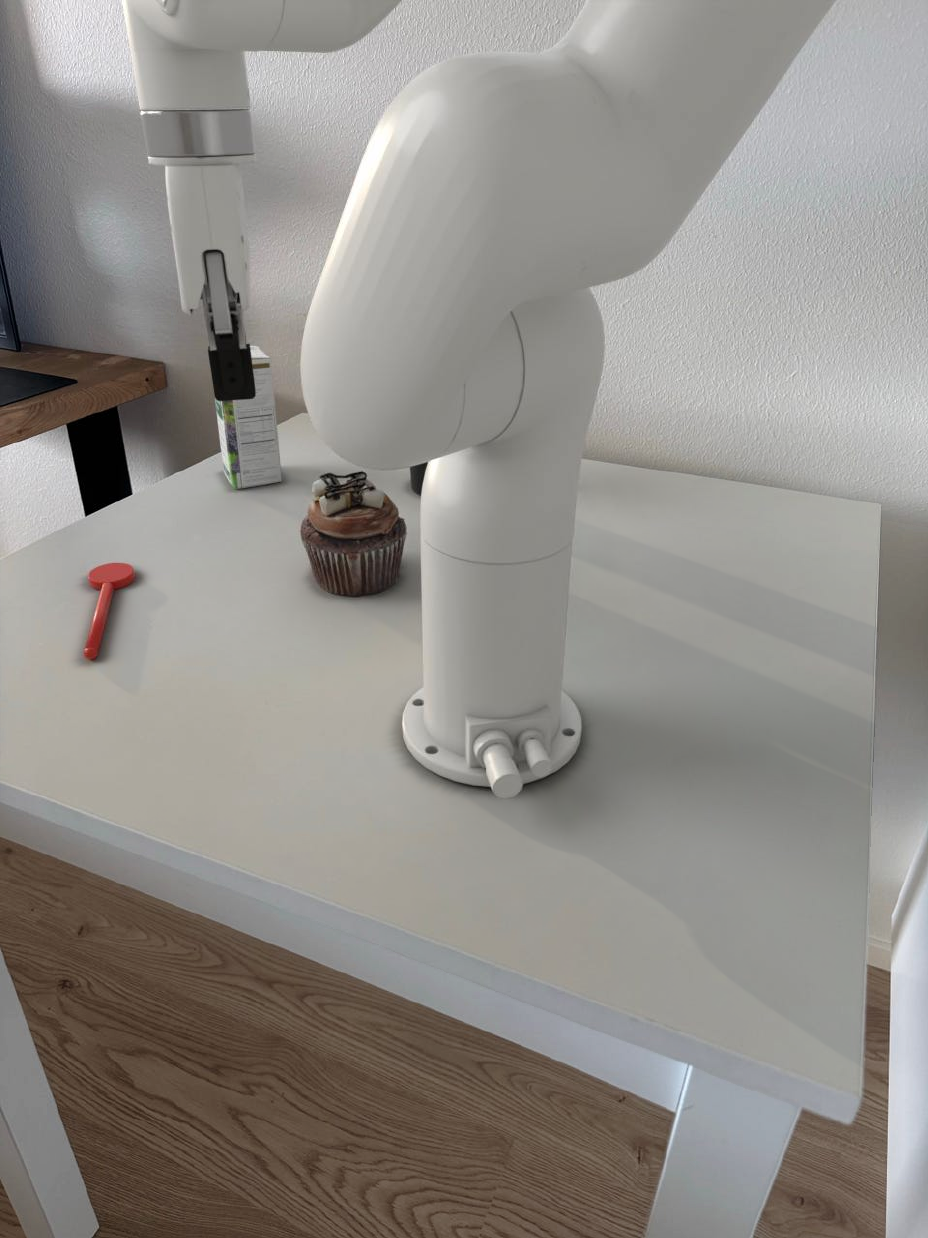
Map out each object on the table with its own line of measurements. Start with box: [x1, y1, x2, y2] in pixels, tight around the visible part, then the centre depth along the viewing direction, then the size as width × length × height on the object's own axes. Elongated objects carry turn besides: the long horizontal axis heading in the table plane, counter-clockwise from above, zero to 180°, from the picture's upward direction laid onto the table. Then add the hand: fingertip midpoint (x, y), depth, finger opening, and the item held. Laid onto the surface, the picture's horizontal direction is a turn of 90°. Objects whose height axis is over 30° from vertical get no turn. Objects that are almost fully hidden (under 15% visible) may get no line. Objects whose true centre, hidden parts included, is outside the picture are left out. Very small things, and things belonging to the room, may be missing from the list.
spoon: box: [83, 562, 136, 660], centre depth 78 cm, size 16×4×1 cm, turn 12°
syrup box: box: [214, 345, 283, 490], centre depth 101 cm, size 6×6×14 cm
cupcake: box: [299, 470, 408, 598], centre depth 82 cm, size 10×10×10 cm
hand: (235, 396), depth 73 cm, fingers closed
